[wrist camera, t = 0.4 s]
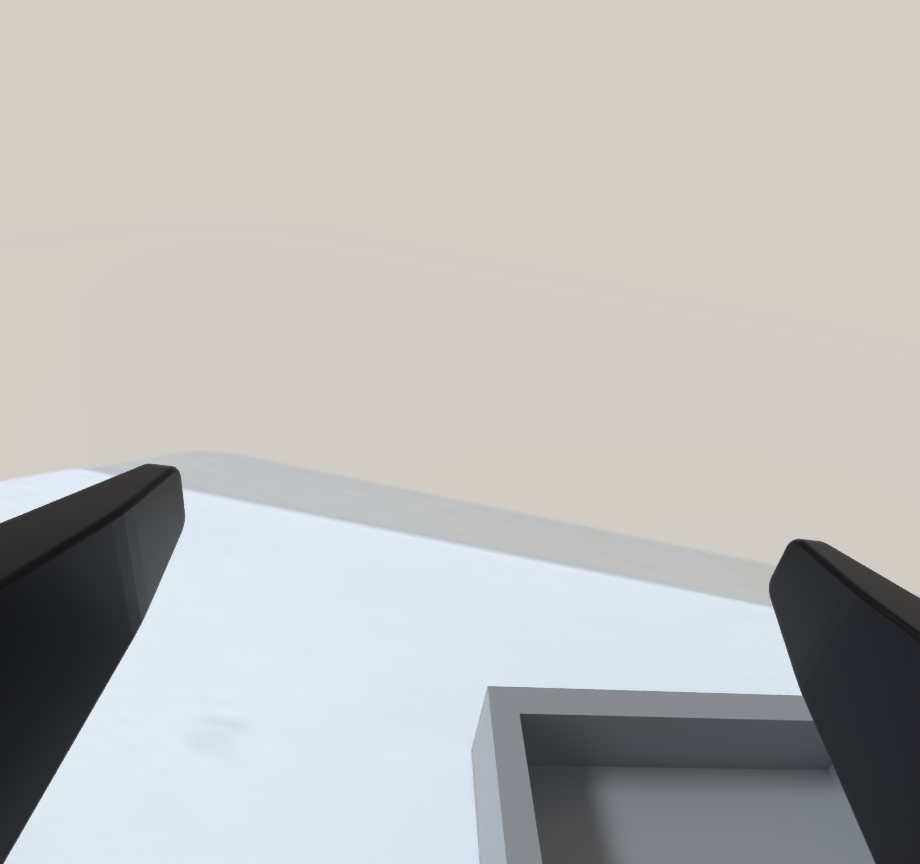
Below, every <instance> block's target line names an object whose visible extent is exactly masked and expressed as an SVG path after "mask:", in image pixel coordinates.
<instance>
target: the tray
mask: <svg viewBox="0 0 920 864" xmlns="http://www.w3.org/2000/svg"><path fill="white" fill-rule="evenodd" d="M472 763H473V776H474V790H475V803H476V816H477V830H478V843H479V856H480V864H875V862H874V860H873V858H872V855H871V853H870V851H869V848H868V846H867V844H866V841H865V839H864V837H863V835H862V832H861V830H860V828H859V825H858V823H857V821H856V818H855V816H854V814H853V812H852V809H851V807H850V805H849V802H848V800H847V798H846V795H845V793H844V791H843V788H842V786H841V784H840V782H839V779H838V777H837V775H836V772H835V770H834V768H833V765H832V763H831V761H830V759H829V756H828V754H827V752H826V749H825V747H824V745H823V742H822V740H821V738H820V735H819V733H818V731H817V729H816V726H815V724H814V722H813V719H812V717H811V715H810V712H809V710H808V708H807V705H806V703H805V701H804V698H803V696H793V695H760V694H727V693H694V692H661V691H628V690H595V689H563V688H530V687H497V686H488V687H487V691H486V695H485V699H484V703H483V706H482V710H481V714H480V718H479V722H478V726H477V730H476V734H475V738H474V742H473V746H472Z"/></svg>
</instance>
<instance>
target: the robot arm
mask: <svg viewBox="0 0 920 864" xmlns="http://www.w3.org/2000/svg"><path fill="white" fill-rule="evenodd" d="M184 521H185V510H184V500H183V491H182V482H181V475H180V473H179V470H178V469H176V468H175V467H173V466H165V465H157V464H145V465H142V466H139V467H137V468H135V469H132V470H130V471H127V472H125V473H122V474H120V475H117V476H115V477H113V478H110V479H108V480H105V481H103V482H100V483H98V484H95V485H93V486H91V487H88V488H86V489H83V490H81V491H78V492H76V493H73V494H71V495H68V496H66V497H64V498H61V499H59V500H56V501H54V502H51V503H49V504H46V505H44V506H42V507H39V508H37V509H34V510H32V511H29V512H27V513H24V514H22V515H20V516H17V517H15V518H12V519H10V520H7V521H5V522H2V523H0V864H4V862H5V860H6V858H7V857H8V855H9V853H10V851H11V850H12V848H13V846H14V845H15V843H16V841H17V839H18V838H19V836H20V834H21V832H22V831H23V829H24V827H25V825H26V824H27V822H28V820H29V819H30V817H31V815H32V813H33V812H34V810H35V808H36V806H37V805H38V803H39V801H40V799H41V798H42V796H43V794H44V793H45V791H46V789H47V787H48V786H49V784H50V782H51V780H52V779H53V777H54V775H55V774H56V772H57V770H58V768H59V767H60V765H61V763H62V761H63V760H64V758H65V756H66V754H67V753H68V751H69V749H70V748H71V746H72V744H73V742H74V741H75V739H76V737H77V735H78V734H79V732H80V730H81V728H82V727H83V725H84V723H85V722H86V720H87V718H88V716H89V715H90V713H91V711H92V709H93V708H94V706H95V704H96V702H97V701H98V699H99V697H100V696H101V694H102V692H103V690H104V689H105V687H106V685H107V683H108V682H109V680H110V678H111V676H112V675H113V673H114V671H115V670H116V668H117V666H118V664H119V663H120V661H121V659H122V657H123V656H124V654H125V652H126V650H127V649H128V647H129V645H130V644H131V642H132V640H133V638H134V636H135V635H136V633H137V631H138V629H139V627H140V625H141V624H142V622H143V619H144V617H145V615H146V613H147V611H148V609H149V606H150V604H151V602H152V600H153V597H154V595H155V593H156V590H157V588H158V586H159V583H160V581H161V579H162V576H163V574H164V572H165V569H166V567H167V565H168V563H169V560H170V558H171V556H172V553H173V551H174V549H175V546H176V544H177V542H178V539H179V537H180V535H181V532H182V530H183V526H184ZM769 594H770V599H771V602H772V605H773V608H774V611H775V614H776V617H777V620H778V624H779V627H780V630H781V633H782V636H783V639H784V642H785V645H786V649H787V652H788V655H789V658H790V661H791V664H792V667H793V670H794V674H795V676H796V679H797V682H798V685H799V688H800V691H801V693H802V696H803V698H804V701H805V703H806V705H807V708H808V710H809V712H810V715H811V717H812V719H813V722H814V724H815V726H816V729H817V731H818V733H819V735H820V738H821V740H822V742H823V745H824V747H825V749H826V752H827V754H828V756H829V759H830V761H831V763H832V765H833V768H834V770H835V772H836V775H837V777H838V779H839V782H840V784H841V786H842V788H843V791H844V793H845V795H846V798H847V800H848V802H849V805H850V807H851V809H852V812H853V814H854V816H855V818H856V821H857V823H858V825H859V828H860V830H861V832H862V835H863V837H864V839H865V841H866V844H867V846H868V848H869V851H870V853H871V855H872V858H873V860H874V862H875V864H920V598H919V597H917V596H915V595H913V594H912V593H910V592H908V591H907V590H905V589H903V588H902V587H899V586H898V585H896V584H894V583H893V582H891V581H889V580H888V579H886V578H884V577H883V576H881V575H879V574H878V573H876V572H874V571H872V570H871V569H869V568H867V567H866V566H864V565H862V564H860V563H859V562H857V561H855V560H854V559H852V558H850V557H849V556H847V555H845V554H843V553H841V552H840V551H838V550H837V549H835V548H833V547H831V546H830V545H828V544H826V543H824V542H821V541H813V540H805V539H796V540H793V541H791V542H790V543H789V544H788V546H787V547H786V549H785V551H784V553H783V555H782V557H781V559H780V561H779V563H778V565H777V567H776V569H775V571H774V573H773V575H772V577H771V580H770V584H769Z"/></svg>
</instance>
